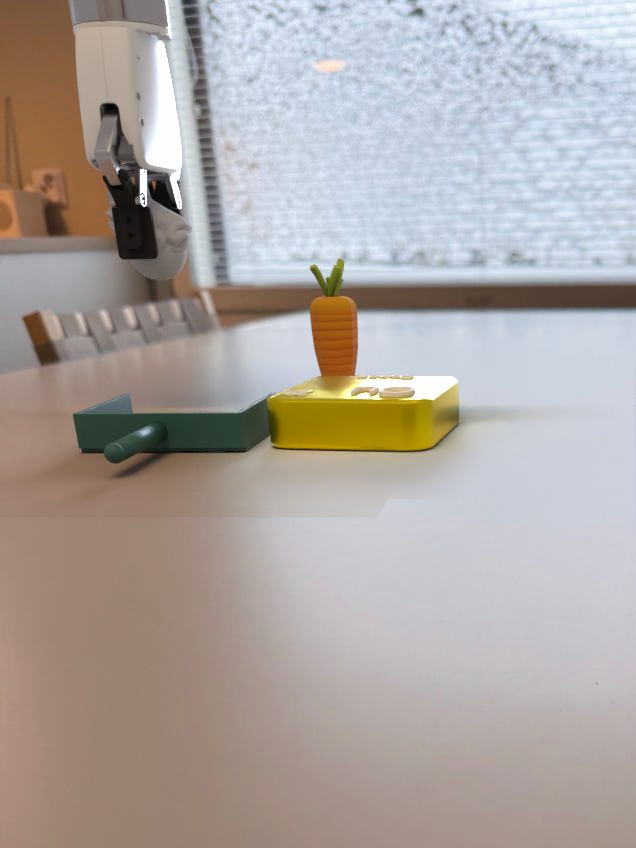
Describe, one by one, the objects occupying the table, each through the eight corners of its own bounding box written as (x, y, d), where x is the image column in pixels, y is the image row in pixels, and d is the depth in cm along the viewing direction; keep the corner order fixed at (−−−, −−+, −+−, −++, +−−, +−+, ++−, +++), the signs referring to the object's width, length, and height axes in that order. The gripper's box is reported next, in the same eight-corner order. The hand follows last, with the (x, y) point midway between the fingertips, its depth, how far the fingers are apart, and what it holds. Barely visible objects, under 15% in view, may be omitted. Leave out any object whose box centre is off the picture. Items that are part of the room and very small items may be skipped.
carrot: (318, 411, 102) (306, 259, 96) (316, 403, 106) (304, 258, 100) (365, 408, 103) (355, 258, 97) (361, 401, 107) (351, 257, 101)
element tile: (463, 420, 95) (462, 371, 93) (429, 452, 81) (427, 395, 79) (319, 418, 97) (315, 370, 96) (263, 449, 84) (257, 393, 82)
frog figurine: (113, 280, 86) (99, 195, 83) (192, 278, 88) (182, 194, 85) (119, 283, 80) (105, 192, 78) (204, 280, 83) (193, 191, 80)
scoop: (131, 428, 94) (125, 393, 93) (278, 427, 93) (275, 392, 92) (23, 479, 75) (14, 436, 74) (207, 479, 74) (201, 435, 72)
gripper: (119, 38, 85) (150, 256, 92) (21, -6, 69) (67, 261, 76) (201, 35, 84) (226, 255, 91) (122, -10, 68) (159, 260, 75)
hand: (154, 256), depth 84 cm, fingers closed on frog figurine, 6 cm apart
